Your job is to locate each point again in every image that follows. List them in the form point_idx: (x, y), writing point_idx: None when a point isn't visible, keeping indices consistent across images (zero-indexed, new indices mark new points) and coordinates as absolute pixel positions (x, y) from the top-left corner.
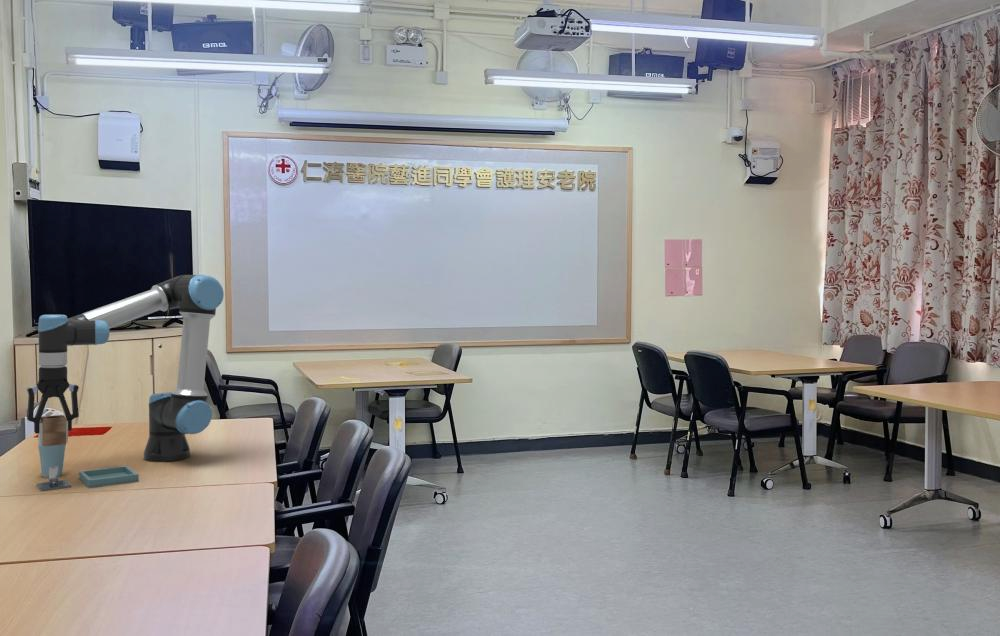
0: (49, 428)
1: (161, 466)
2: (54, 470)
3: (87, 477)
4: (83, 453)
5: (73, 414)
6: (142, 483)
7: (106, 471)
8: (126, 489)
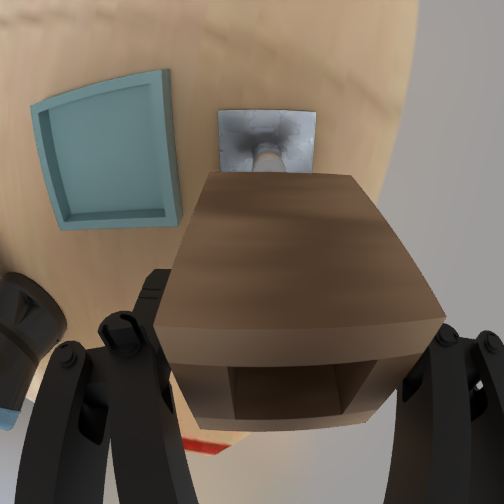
0: (352, 241)
1: (20, 243)
2: (269, 157)
3: (159, 120)
4: (175, 391)
5: (93, 386)
6: (39, 77)
7: (107, 215)
8: (81, 17)
